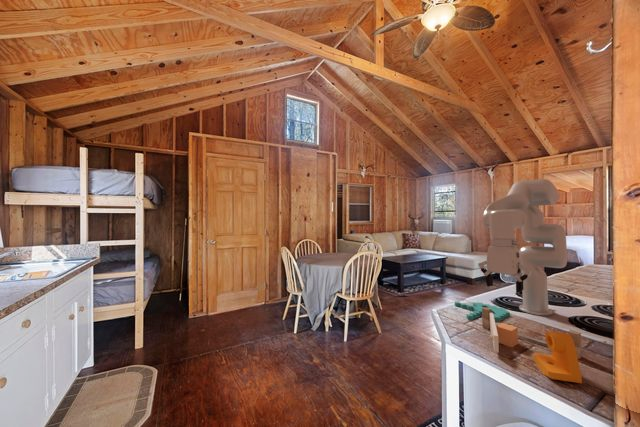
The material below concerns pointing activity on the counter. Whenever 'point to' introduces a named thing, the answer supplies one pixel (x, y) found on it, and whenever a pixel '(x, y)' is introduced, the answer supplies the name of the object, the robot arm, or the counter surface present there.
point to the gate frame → (575, 336)
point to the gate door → (494, 333)
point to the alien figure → (497, 312)
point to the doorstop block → (507, 334)
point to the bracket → (559, 358)
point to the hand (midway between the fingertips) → (504, 288)
